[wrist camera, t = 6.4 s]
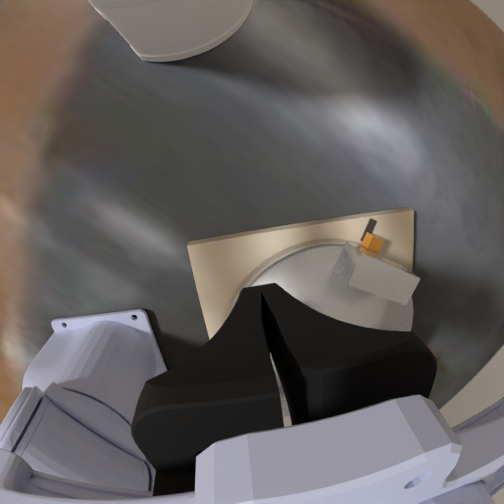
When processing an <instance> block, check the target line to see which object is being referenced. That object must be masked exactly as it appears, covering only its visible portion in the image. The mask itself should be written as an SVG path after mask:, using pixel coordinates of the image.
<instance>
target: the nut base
mask: <svg viewBox="0 0 504 504" xmlns="http://www.w3.org/2000/svg"><path fill="white" fill-rule="evenodd" d="M367 232H368V233H370V234H372V235H375V236H377V237H379V238H380V239H382V240H384V242H383V244H382V246H381V249H380V251H379V253H378V254H379V255H381V256H382V257H384V258H387V259H389V260H391V261H393V262H396V263H398V264H400V265H402V266H403V267H405V268H406V269H408V270H409V271H410V272H412V267H413V245H414V210H413V209H410V208H407V207H406V208H399V209H392V210H385V211H378V212H371V213H364V214H357V215H350V216H343V217H337V218H330V219H323V220H317V221H310V222H304V223H297V224H291V225H285V226H279V227H272V228H266V229H260V230H254V231H248V232H242V233H236V234H230V235H224V236H218V237H212V238H207V239H201V240H195V241H189V242H188V245H187V248H188V252H189V257H190V261H191V266H192V270H193V274H194V279H195V283H196V287H197V291H198V295H199V299H200V304H201V308H202V312H203V316H204V319H205V323H206V327H207V331H208V335H209V339H211V338H212V337H213V336H214V335H215V334H216V332H217V331H218V330H219V329H220V327H221V326H222V325H223V323H224V320H225V315H226V312H227V309H228V306H229V304H230V302H231V300H232V298H233V296H234V294H235V292H236V291H237V289H238V288H239V286H240V285H241V283H242V282H243V281H244V280H245V279H246V277H247V276H248V275H249V274H250V273H251V272H252V271H253V270H254V269H255V268H257V267H258V266H259V265H260V264H261V263H262V262H264V261H265V260H267V259H268V258H270V257H271V256H273V255H274V254H276V253H278V252H280V251H282V250H284V249H286V248H288V247H291V246H294V245H296V244H299V243H303V242H307V241H311V240H317V239H343V240H349V241H353V242H356V243H359V244H362V242H363V239H364V237H365V235H366V233H367Z"/></svg>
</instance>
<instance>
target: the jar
mask: <svg viewBox="0 0 504 504" xmlns="http://www.w3.org/2000/svg"><path fill="white" fill-rule="evenodd" d="M88 1H89V2H90V3H91V4H92V6H93V7H94V8H95V9H96V10H97V11H98V12H99V13H100V14H101V16H102V17H103V18H104V19H105V20H108V21H109V22H110V23H111V24H112V25H113V26H114V27H115V28H116V30H117V31H118V32H119V33H120V34H121V35H122V36H123V37H124V38H125V40H126V41H127V42H128V43H129V44H130V46H131V48H132V49H133V50H134V51H135V52H136V54H137V55H138V56H139V57H140V58H141V59H142V60H143V61H151V62H166V61H175V60H181V59H185V58H189V57H192V56H195V55H198V54H201V53H203V52H206V51H208V50H210V49H212V48H214V47H216V46H217V45H219V44H221V43H222V42H224V41H225V40H227V39H228V38H229V37H230V36H232V35H233V34H234V33H235V32H236V31H237V30H238V29H239V28H240V27H241V25H242V24H243V23H244V21H245V20H246V18H247V17H248V15H249V13H250V11H251V8H252V5H253V1H254V0H88Z"/></svg>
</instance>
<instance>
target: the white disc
mask: <svg viewBox="0 0 504 504" xmlns="http://www.w3.org/2000/svg"><path fill="white" fill-rule="evenodd" d="M383 242H384V240H382V239H380V238H379V237H377V236H375V235H372V234H370V233H368V232H367V233H366V235H365V237H364V239H363V242H362V244H359V243H356V242H353V241H349V240H343V239H317V240H311V241H307V242H303V243H299V244H296V245H294V246H291V247H288V248H286V249H284V250H282V251H280V252H278V253H276V254H274V255H273V256H271V257H270V258H268V259H267V260H265V261H264V262H262V263H261V264H260V265H259V266H258V267H257V268H255V269H254V270H253V271H252V272H251V273H250V274H249V275H248V276H247V277H246V279H245V280H244V281H243V282H242V283H241V285H240V286H239V288H238V289H237V291H236V292H235V294H234V296H233V298H232V300H231V302H230V304H229V306H228V309H227V312H226V315H225V320H226V319H227V317H228V316H229V314H230V312H231V311H232V309H233V307H234V305H235V303H236V301H237V299H238V297H239V294H240V291H241V290H242V288H245V287H251V286H257V285H263V284H269V283H277V284H278V285H279V286H281V287H282V288H283V289H284V290H285V291H287V292H288V293H289V294H291V295H292V296H293V297H295V298H296V299H298V300H299V301H301V302H302V303H304V304H305V305H307V306H309V307H311V308H313V309H314V310H316V311H318V312H320V313H322V314H325V315H327V316H330V317H332V318H335V319H337V320H340V321H343V322H347V323H350V324H354V325H358V326H363V327H367V328H374V329H380V330H390V331H409V332H411V327H412V322H413V301H412V294H413V292H414V290H415V288H416V286H417V285H418V283H419V281H420V278H419V277H417V276H416V275H415V274H413V273H412V272H410V271H409V270H408V269H406V268H405V267H403V266H402V265H400V264H398V263H396V262H393V261H391V260H389V259H387V258H384V257H382V256H381V255H379V254H378V253H379V251H380V249H381V246H382V244H383ZM225 320H224V322H225ZM270 358H271V361H272V365H273V368H274V371H275V374H276V378H277V383H278V388H279V392H280V399H281V406H282V414H283V421H284V427H288V426H292V423H291V418H290V414H289V409H288V405H287V401H286V397H285V394H284V391H283V388H282V385H281V382H280V379H279V376H278V374H277V371H276V368H275V365H274V362H273V359H272V356H271V353H270Z"/></svg>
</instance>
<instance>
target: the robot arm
mask: <svg viewBox="0 0 504 504" xmlns="http://www.w3.org/2000/svg"><path fill="white" fill-rule="evenodd" d="M133 315H136V316H137V318H134V317H133ZM64 323H65V324H66V325H65V324H64ZM51 324H52V327H53V329H54V333H53V335H52V336H51V337H50V338H49V340H48V341H47V342H46V344H45V345H44V346H43V348H42V349H41V350H40V352H39V353H38V354H37V356H36V357H35V358H34V360H33V361H32V362H31V364H30V365H29V367H28V368H27V370H26V372H25V375H24V379H23V387H22V392H21V393H20V395H19V396H18V398H17V399H16V401H15V402H14V404H13V406H12V407H11V409H10V410H9V412H8V414H7V415H6V417H5V419H4V420H3V422H2V424H1V425H0V504H495V503H494V501H493V499H492V496H493V495H494V494H496V493H497V492H498V491H499V490H500V489H502V488H503V487H504V397H503V398H502V399H500V400H499V401H497V402H495V403H494V404H492V405H491V406H490V407H488V408H486V409H484V410H483V411H481V412H479V413H478V414H476V415H474V416H473V417H471V418H469V419H467V420H466V421H464V422H462V423H460V424H458V425H456V426H455V427H453V428H451V427H450V426H449V425H448V423H447V421H446V420H445V419H444V417H443V416H442V414H441V413H440V411H439V410H438V408H437V407H436V406H435V404H434V403H433V401H431V400H429V399H428V398H429V395H430V392H431V389H432V386H433V383H434V380H435V376H436V371H437V362H436V357H435V356H434V355H433V353H432V352H431V351H430V350H429V348H428V347H427V346H426V345H425V344H424V343H423V341H422V340H421V339H420V338H419V337H418V336H417V335H416V334H415V333H413V332H409V331H390V330H380V329H374V328H367V327H363V326H358V325H354V324H350V323H347V322H343V321H340V320H337V319H335V318H332V317H330V316H327V315H325V314H322V313H320V312H318V311H316V310H314V309H313V308H311V307H309V306H307V305H305V304H304V303H302V302H301V301H299V300H298V299H296V298H295V297H293V296H292V295H291V294H289V293H288V292H287V291H285V290H284V289H283V288H282V287H281V286H279V285H278V284H277V283H269V284H263V285H257V286H251V287H245V288H242V290H241V291H240V294H239V297H238V299H237V301H236V303H235V305H234V307H233V309H232V311H231V312H230V314H229V316H228V317H227V319H226V320H225V322H224V323H223V325H222V326H221V327H220V329H219V330H218V331H217V332H216V334H215V335H214V336H213V337H212V338H211V339H210V340H209V341H208V342H207V343H206V344H205V345H203V346H202V347H201V348H200V349H199V350H198V351H196V352H195V353H194V354H193V355H191V356H190V357H189V358H187V359H186V360H184V361H183V362H181V363H180V364H178V365H176V366H175V367H173V368H171V369H170V370H167V368H166V365H165V363H164V360H163V357H162V355H161V352H160V349H159V347H158V344H157V341H156V339H155V336H154V333H153V330H152V327H151V324H150V321H149V319H148V316H147V313H146V312H145V311H144V310H142V309H137V310H129V311H121V312H113V313H105V314H97V315H88V316H79V317H70V318H60V319H54V320H53V321H52V323H51ZM270 353H271V356H272V359H273V362H274V365H275V368H276V371H277V374H278V376H279V379H280V382H281V385H282V388H283V391H284V394H285V397H286V401H287V405H288V409H289V414H290V418H291V423H292V426H288V427H284V421H283V414H282V406H281V399H280V392H279V388H278V383H277V378H276V374H275V371H274V368H273V365H272V361H271V358H270ZM146 458H147V460H148V461H149V462H148V461H145V460H146Z"/></svg>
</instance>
